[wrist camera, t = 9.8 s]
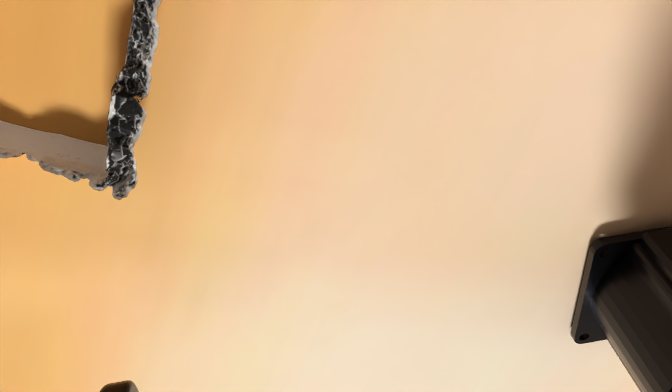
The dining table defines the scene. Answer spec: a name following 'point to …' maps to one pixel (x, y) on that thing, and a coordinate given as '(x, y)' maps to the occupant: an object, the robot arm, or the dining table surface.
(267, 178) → the dining table surface
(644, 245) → the robot arm
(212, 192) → the dining table surface
